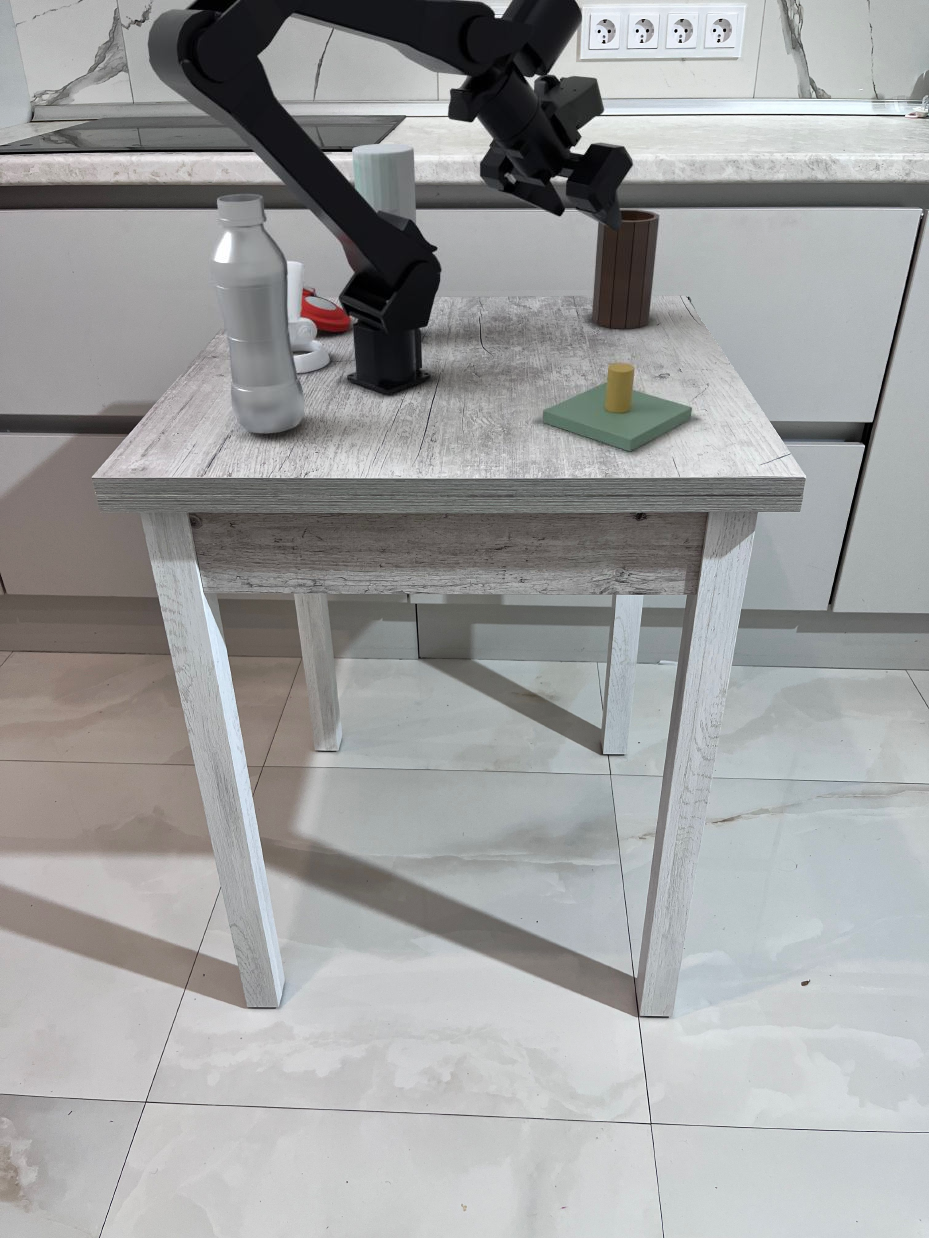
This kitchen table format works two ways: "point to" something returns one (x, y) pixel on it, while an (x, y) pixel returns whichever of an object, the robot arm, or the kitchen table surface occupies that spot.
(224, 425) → the kitchen table surface
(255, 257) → the plastic bottle
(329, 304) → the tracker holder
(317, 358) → the white upright ring-based piece
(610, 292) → the sleeve
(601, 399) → the peg stand
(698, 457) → the kitchen table surface
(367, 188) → the spray can
